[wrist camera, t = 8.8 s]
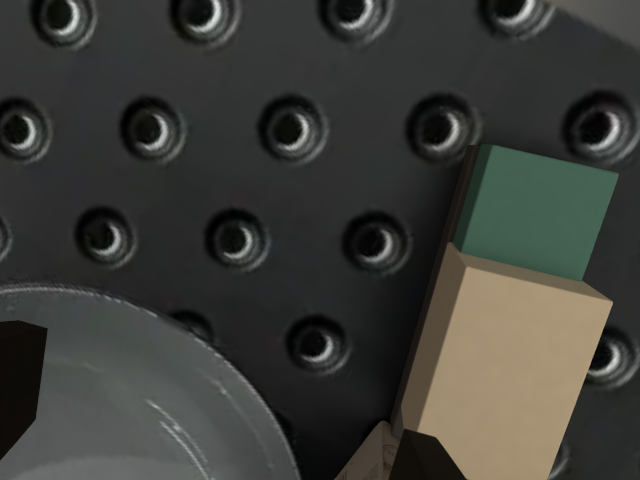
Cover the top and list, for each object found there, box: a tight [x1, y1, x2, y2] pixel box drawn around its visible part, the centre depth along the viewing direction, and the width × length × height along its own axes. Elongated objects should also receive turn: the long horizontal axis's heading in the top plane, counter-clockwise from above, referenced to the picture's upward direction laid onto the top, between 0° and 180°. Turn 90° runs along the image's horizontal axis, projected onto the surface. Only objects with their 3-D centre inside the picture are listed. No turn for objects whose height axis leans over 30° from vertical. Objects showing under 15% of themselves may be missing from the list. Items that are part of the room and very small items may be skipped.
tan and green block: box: [390, 144, 619, 480], centre depth 17 cm, size 11×4×5 cm, turn 167°
